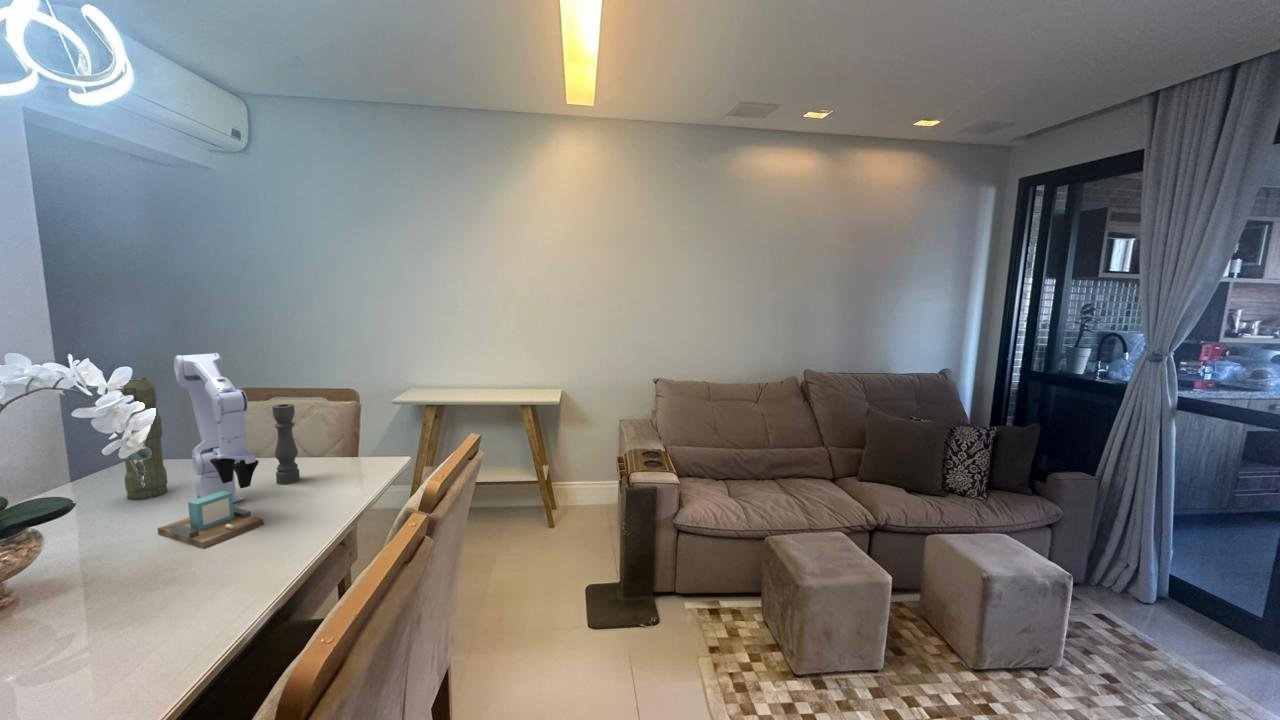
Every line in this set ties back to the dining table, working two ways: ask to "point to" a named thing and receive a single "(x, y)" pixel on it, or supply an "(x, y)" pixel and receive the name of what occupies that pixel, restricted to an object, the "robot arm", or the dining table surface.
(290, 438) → the candle holder
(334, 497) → the dining table surface
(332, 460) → the dining table surface
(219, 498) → the teal block
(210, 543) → the wooden board
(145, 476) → the olive green tall column
